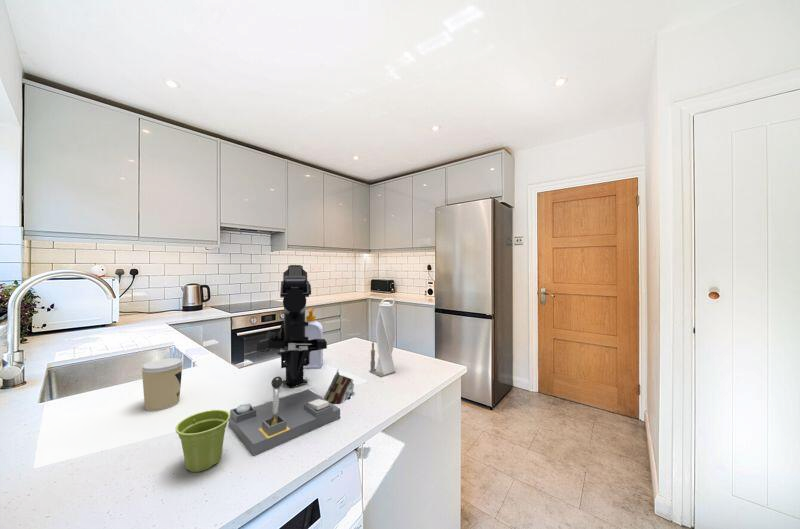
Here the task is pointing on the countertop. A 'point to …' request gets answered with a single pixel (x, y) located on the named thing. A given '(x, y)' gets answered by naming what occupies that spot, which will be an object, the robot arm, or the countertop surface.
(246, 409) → the push button
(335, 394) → the chocolate cake
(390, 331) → the skyscraper
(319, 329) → the soap bottle
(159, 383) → the coffee cup
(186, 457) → the plant pot
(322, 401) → the rocker switch
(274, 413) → the toggle lever
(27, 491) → the countertop surface
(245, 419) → the switch panel
